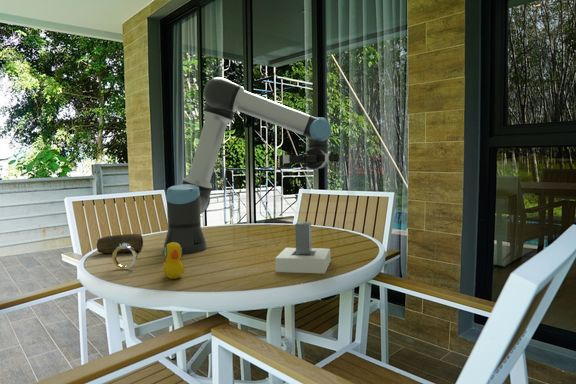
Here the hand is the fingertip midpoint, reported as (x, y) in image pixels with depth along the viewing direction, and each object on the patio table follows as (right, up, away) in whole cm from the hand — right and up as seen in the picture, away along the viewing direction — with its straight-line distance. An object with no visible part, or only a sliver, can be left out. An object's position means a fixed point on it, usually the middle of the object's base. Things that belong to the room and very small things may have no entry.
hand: (304, 158), depth 130 cm
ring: (-54, -34, -7) cm, 65 cm away
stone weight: (-66, -33, +17) cm, 75 cm away
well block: (-1, -33, -9) cm, 34 cm away
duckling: (-37, -34, -18) cm, 53 cm away
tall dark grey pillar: (-1, -33, -9) cm, 34 cm away
